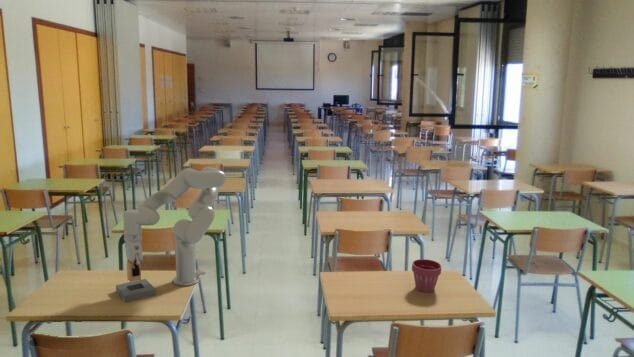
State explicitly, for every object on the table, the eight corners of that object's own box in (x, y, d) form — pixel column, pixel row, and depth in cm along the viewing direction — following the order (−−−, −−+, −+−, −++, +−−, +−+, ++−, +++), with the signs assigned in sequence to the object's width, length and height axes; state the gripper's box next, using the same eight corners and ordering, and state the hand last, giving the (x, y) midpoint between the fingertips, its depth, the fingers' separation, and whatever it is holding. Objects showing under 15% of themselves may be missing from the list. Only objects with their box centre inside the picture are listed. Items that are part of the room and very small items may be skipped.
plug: (138, 276, 242) (137, 258, 240) (141, 279, 239) (140, 261, 237) (127, 279, 239) (126, 260, 237) (130, 281, 236) (129, 263, 234)
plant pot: (445, 291, 251) (447, 267, 248) (422, 296, 245) (424, 271, 242) (427, 280, 263) (429, 257, 261) (405, 285, 257) (406, 261, 255)
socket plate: (145, 284, 250) (145, 278, 250) (155, 294, 239) (155, 288, 239) (116, 291, 242) (115, 285, 241) (125, 302, 231) (124, 295, 230)
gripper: (147, 240, 231) (148, 278, 234) (135, 230, 244) (136, 267, 247) (130, 243, 226) (131, 282, 230) (119, 233, 239) (120, 270, 243)
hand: (134, 273), depth 239 cm, fingers closed on plug, 4 cm apart
